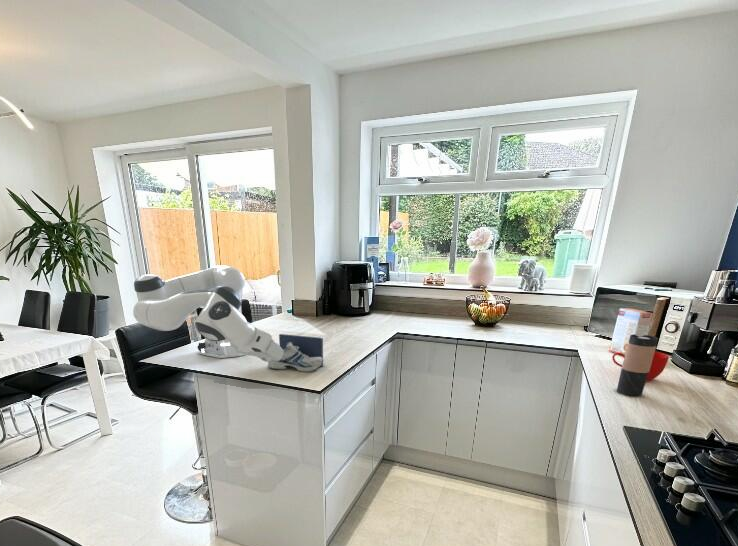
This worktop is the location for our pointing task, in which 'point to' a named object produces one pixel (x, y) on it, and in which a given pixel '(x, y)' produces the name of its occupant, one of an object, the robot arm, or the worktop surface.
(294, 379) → the worktop surface
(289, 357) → the athletic shoe
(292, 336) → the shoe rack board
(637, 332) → the cracker box
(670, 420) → the worktop surface
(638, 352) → the travel mug
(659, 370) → the ceramic cup
